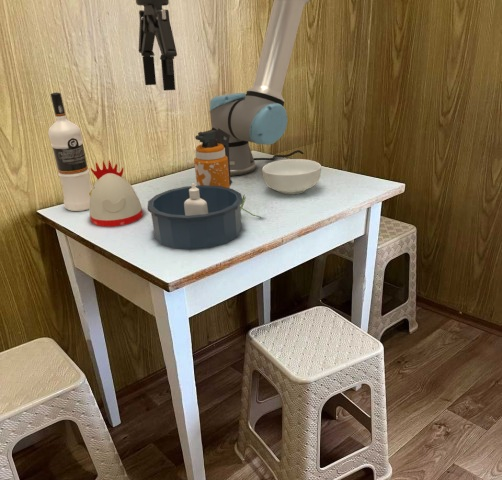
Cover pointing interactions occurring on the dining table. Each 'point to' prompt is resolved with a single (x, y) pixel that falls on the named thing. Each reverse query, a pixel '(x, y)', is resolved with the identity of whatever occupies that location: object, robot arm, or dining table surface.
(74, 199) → the vodka
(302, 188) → the cereal bowl
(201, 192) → the basin
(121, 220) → the kitchen timer
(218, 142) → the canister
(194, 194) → the eye dropper bottle
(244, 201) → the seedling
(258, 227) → the dining table surface
